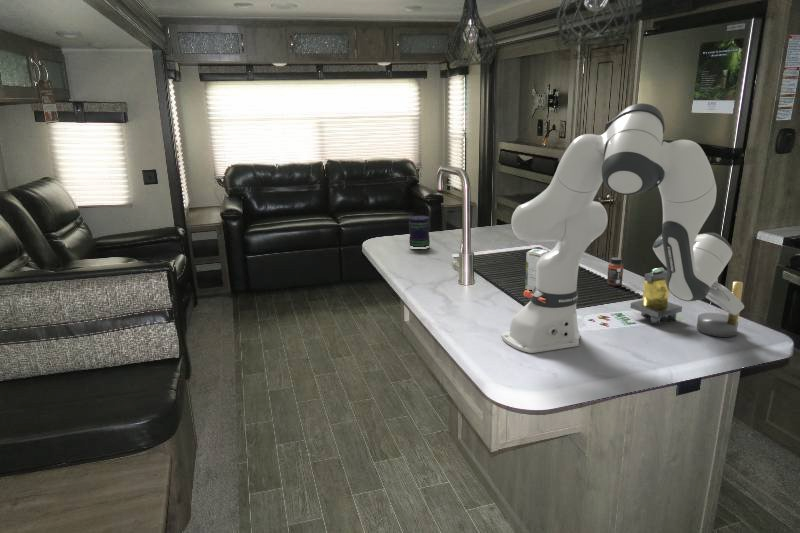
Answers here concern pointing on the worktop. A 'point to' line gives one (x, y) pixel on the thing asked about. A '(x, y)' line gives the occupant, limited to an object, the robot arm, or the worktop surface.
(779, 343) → the worktop surface
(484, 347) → the worktop surface
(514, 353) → the worktop surface
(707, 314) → the footscrew knob
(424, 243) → the storage jar
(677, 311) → the stand
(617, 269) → the supplement bottle
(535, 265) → the syrup box
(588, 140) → the robot arm
